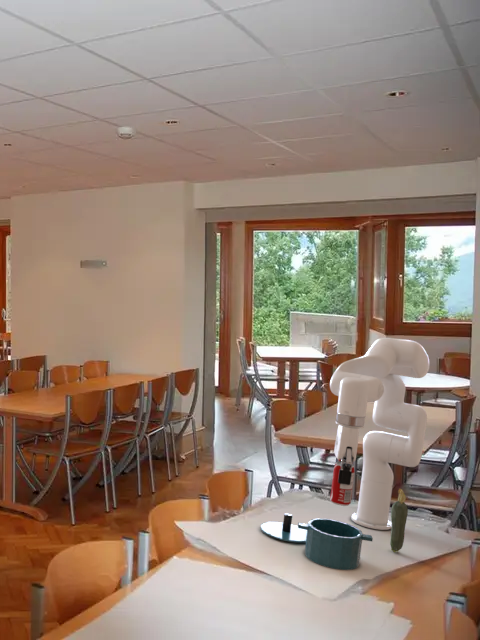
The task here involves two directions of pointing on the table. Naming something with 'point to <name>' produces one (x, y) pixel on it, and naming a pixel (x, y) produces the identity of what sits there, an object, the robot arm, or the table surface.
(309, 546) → the pot
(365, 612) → the table surface
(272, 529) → the lid
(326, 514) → the table surface
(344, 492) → the soda can
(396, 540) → the vegetable
